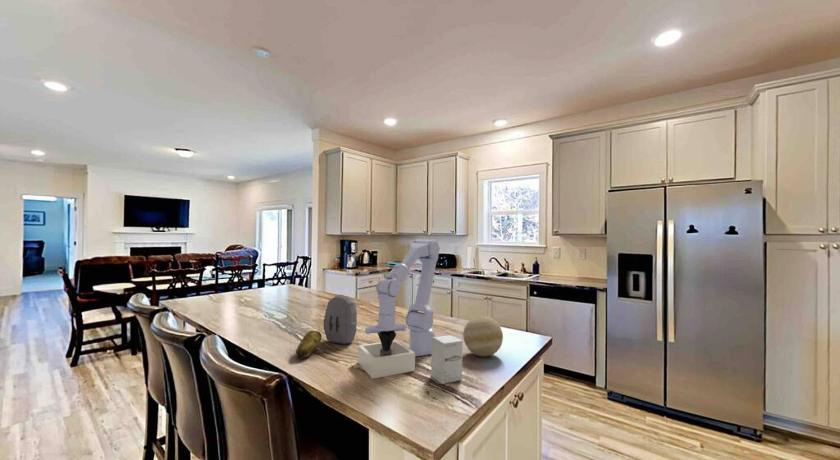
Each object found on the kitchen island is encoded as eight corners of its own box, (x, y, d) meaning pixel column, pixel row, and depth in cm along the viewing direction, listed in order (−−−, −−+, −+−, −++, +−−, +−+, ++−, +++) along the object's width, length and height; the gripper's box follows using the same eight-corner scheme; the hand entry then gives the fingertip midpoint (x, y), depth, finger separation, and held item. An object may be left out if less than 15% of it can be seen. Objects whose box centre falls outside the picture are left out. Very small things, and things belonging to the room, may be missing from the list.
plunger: (394, 356, 125) (394, 342, 125) (407, 367, 115) (407, 352, 115) (364, 361, 119) (365, 347, 119) (375, 372, 109) (376, 357, 109)
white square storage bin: (396, 356, 127) (397, 340, 127) (414, 370, 114) (415, 352, 114) (357, 362, 120) (358, 345, 120) (372, 378, 107) (372, 359, 107)
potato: (286, 358, 123) (286, 335, 123) (311, 347, 135) (312, 327, 135) (303, 362, 119) (304, 339, 120) (328, 351, 131) (328, 330, 131)
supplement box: (442, 385, 103) (443, 343, 104) (430, 375, 110) (431, 336, 110) (462, 380, 107) (463, 340, 107) (449, 372, 113) (450, 334, 114)
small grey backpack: (359, 342, 142) (361, 295, 143) (347, 348, 135) (349, 298, 135) (330, 337, 148) (332, 291, 149) (317, 343, 141) (319, 294, 141)
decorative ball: (483, 365, 120) (484, 323, 120) (454, 353, 132) (455, 314, 132) (510, 357, 129) (511, 317, 129) (481, 346, 141) (482, 310, 141)
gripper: (401, 310, 124) (399, 347, 124) (363, 312, 118) (361, 352, 117) (409, 314, 118) (407, 353, 118) (370, 316, 111) (368, 358, 111)
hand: (385, 353), depth 117 cm, fingers closed, pressing on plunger
